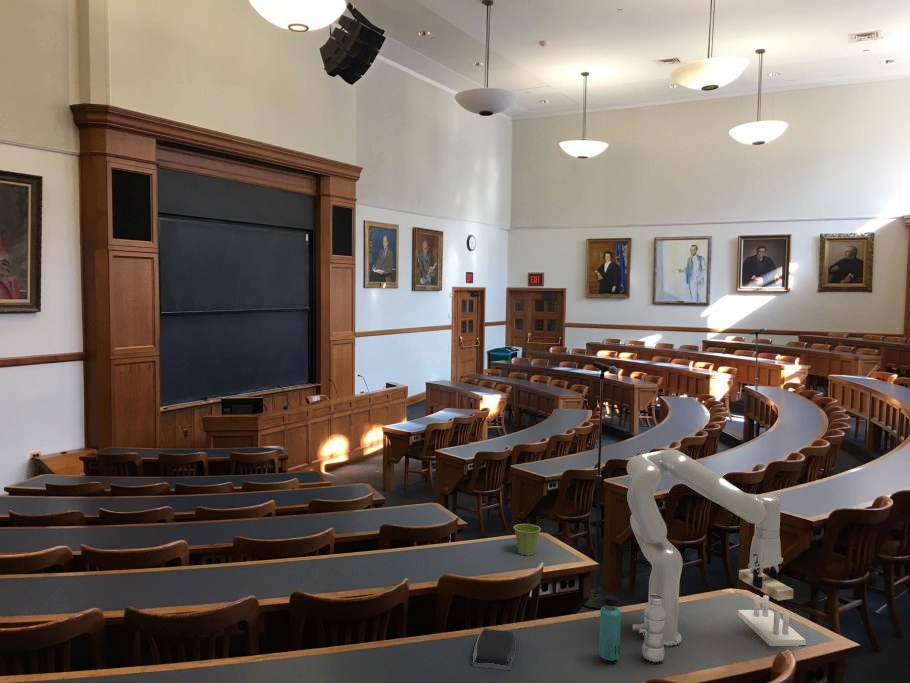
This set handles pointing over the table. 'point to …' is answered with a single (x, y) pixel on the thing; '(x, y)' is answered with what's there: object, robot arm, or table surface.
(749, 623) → the peg stand
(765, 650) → the table surface
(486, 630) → the external hard drive
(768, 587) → the shelf board
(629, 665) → the table surface
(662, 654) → the plastic bottle
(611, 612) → the beverage bottle
